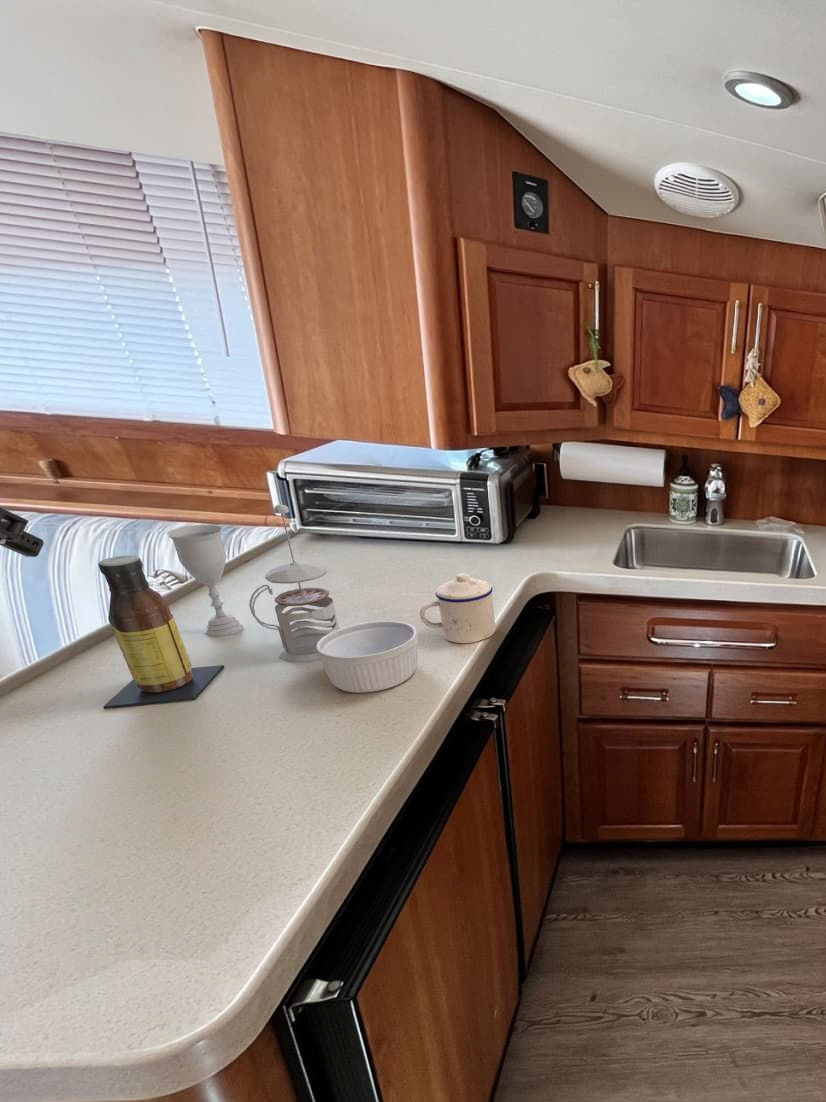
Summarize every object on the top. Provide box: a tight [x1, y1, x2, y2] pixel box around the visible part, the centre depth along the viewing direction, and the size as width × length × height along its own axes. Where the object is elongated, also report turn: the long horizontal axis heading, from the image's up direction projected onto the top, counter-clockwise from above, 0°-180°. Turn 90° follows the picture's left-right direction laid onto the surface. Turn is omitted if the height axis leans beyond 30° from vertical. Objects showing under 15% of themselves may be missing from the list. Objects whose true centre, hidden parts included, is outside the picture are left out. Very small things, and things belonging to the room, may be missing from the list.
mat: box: [102, 664, 225, 710], centre depth 94 cm, size 10×10×1 cm
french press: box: [249, 504, 340, 663], centre depth 102 cm, size 10×12×25 cm
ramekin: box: [316, 620, 419, 694], centre depth 100 cm, size 13×13×7 cm
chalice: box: [166, 524, 244, 637], centre depth 107 cm, size 7×7×18 cm
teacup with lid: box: [418, 572, 497, 644], centre depth 114 cm, size 12×9×12 cm
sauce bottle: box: [97, 554, 193, 693], centre depth 90 cm, size 7×6×20 cm
